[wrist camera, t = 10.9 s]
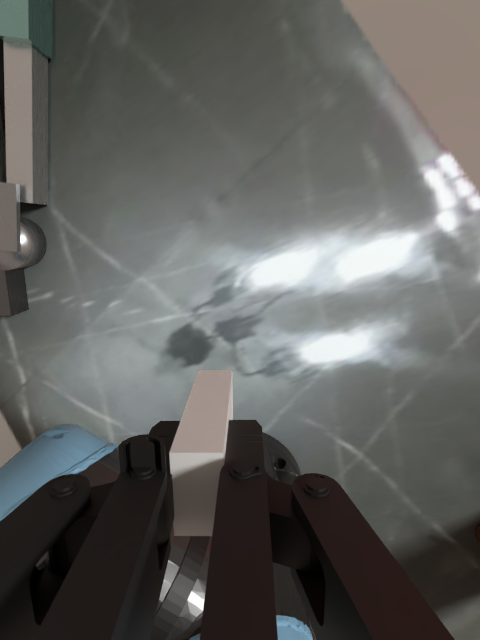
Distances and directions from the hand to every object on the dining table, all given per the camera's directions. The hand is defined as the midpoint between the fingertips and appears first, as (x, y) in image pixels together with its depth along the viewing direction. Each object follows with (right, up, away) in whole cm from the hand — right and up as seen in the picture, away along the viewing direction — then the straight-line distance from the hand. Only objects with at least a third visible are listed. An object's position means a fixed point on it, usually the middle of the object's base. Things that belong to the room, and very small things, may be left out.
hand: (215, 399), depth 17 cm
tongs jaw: (-19, +22, +20) cm, 35 cm away
